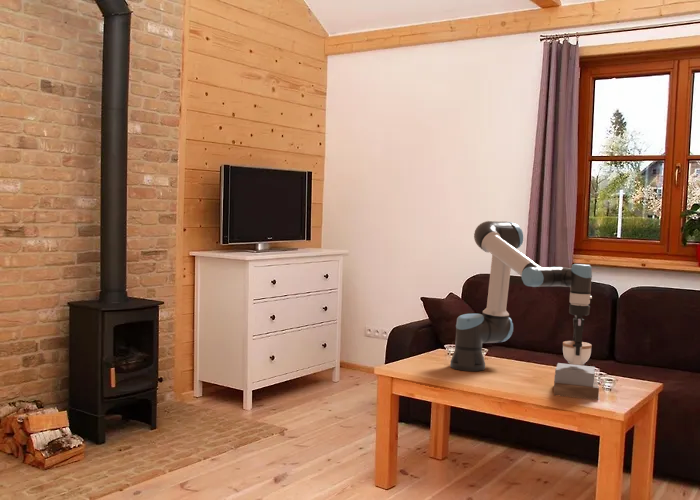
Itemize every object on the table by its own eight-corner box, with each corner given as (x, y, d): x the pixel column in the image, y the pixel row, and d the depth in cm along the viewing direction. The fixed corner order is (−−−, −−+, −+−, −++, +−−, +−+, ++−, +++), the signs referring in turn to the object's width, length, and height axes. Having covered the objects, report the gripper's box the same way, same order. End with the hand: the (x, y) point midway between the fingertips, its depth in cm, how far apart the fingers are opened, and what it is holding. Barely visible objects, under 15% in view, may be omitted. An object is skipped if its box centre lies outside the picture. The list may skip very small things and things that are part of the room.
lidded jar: (568, 359, 294) (569, 335, 293) (594, 363, 287) (596, 339, 286) (557, 362, 285) (558, 338, 285) (584, 367, 279) (585, 343, 278)
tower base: (553, 387, 296) (554, 374, 296) (595, 391, 292) (596, 378, 292) (553, 396, 281) (554, 383, 281) (598, 401, 277) (598, 388, 276)
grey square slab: (557, 375, 296) (558, 362, 295) (594, 379, 291) (594, 366, 291) (554, 382, 282) (555, 369, 282) (593, 386, 278) (593, 373, 277)
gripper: (591, 308, 273) (588, 367, 274) (588, 301, 295) (584, 356, 296) (570, 307, 275) (566, 365, 276) (568, 300, 297) (565, 354, 298)
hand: (576, 360), depth 286 cm, fingers closed on lidded jar, 11 cm apart
